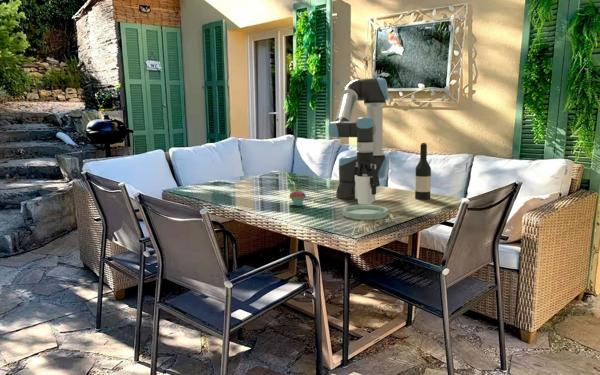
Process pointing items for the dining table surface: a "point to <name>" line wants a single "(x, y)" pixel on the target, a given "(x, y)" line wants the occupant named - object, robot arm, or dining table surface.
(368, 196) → the foam cup
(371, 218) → the saucer
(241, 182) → the dining table surface
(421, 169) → the wine bottle
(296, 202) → the cupcake
